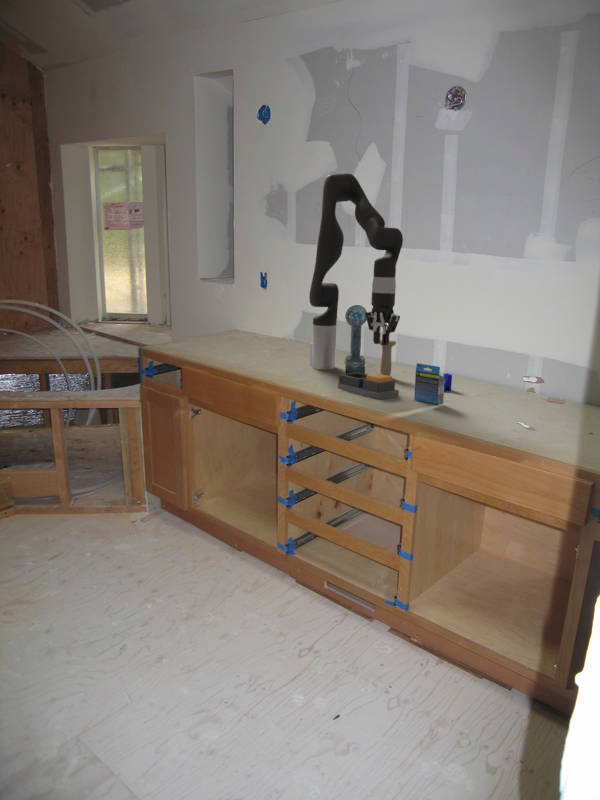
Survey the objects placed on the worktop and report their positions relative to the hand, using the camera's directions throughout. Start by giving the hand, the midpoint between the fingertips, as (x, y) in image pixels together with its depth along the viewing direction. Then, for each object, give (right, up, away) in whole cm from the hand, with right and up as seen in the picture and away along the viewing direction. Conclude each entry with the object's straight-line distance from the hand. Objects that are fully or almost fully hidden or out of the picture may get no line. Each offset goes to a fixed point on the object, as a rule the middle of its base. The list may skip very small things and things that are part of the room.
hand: (380, 344), depth 210 cm
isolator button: (0, -12, +3) cm, 13 cm away
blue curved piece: (+20, -16, +13) cm, 28 cm away
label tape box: (+15, -19, -4) cm, 25 cm away
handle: (+5, -11, +29) cm, 31 cm away
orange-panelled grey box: (-4, -16, +8) cm, 18 cm away
